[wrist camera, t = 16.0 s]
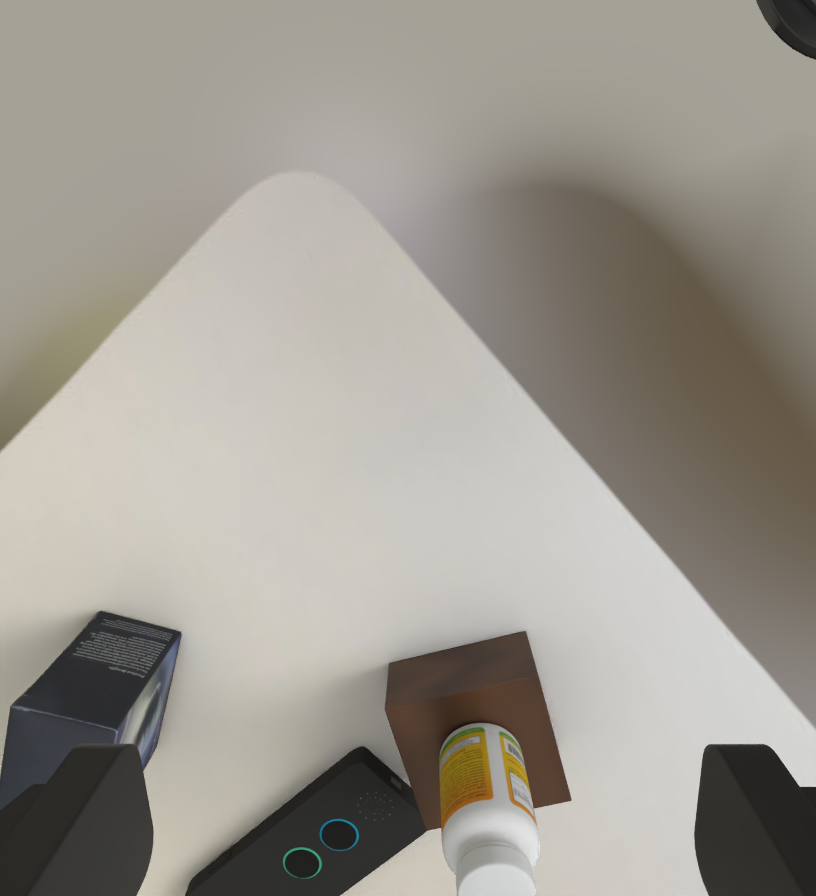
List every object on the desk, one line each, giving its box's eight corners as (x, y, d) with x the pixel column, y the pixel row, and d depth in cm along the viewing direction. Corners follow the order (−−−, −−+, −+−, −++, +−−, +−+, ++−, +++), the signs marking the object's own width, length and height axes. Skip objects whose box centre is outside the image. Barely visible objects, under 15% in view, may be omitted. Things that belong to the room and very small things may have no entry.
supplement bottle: (430, 779, 42) (431, 924, 33) (450, 711, 41) (457, 844, 31) (509, 795, 42) (533, 945, 33) (532, 729, 41) (563, 865, 31)
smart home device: (436, 828, 47) (253, 962, 51) (435, 809, 49) (259, 941, 53) (357, 759, 46) (176, 903, 50) (359, 742, 47) (184, 882, 51)
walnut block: (525, 630, 45) (537, 674, 40) (556, 746, 47) (571, 800, 42) (388, 663, 46) (384, 709, 41) (426, 775, 48) (426, 831, 43)
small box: (162, 750, 48) (92, 878, 38) (76, 729, 48) (-17, 852, 38) (187, 631, 45) (119, 734, 35) (97, 607, 45) (2, 705, 35)
